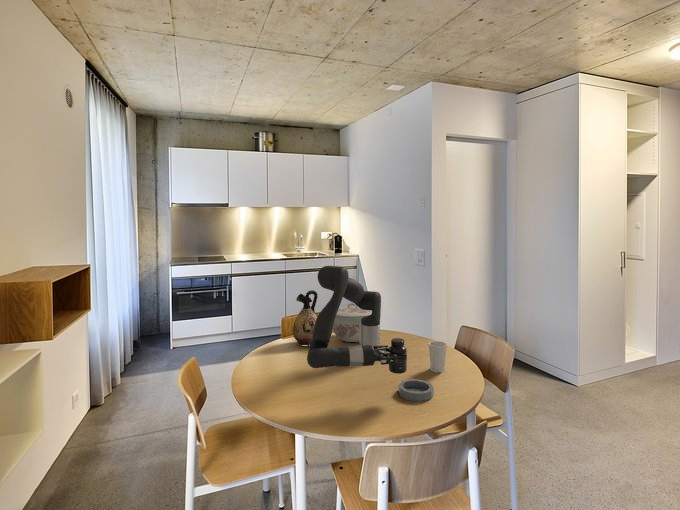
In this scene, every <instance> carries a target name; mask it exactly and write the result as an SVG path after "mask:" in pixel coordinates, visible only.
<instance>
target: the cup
mask: <svg viewBox="0 0 680 510" xmlns="http://www.w3.org/2000/svg"><path fill="white" fill-rule="evenodd" d="M447 347H448V343H446V342H444V341H436V340H432V341H429V342H428V350H429V351H428V352H429V365H430V371H431V372H434V373H438V372H440V373H444V372H445V371H446V368H445V367H446V360H447V359H446V358H447V349H448V348H447Z"/></svg>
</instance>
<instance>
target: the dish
mask: <svg viewBox="0 0 680 510" xmlns="http://www.w3.org/2000/svg"><path fill="white" fill-rule="evenodd" d="M434 390H435V387H434V386H433V384H432V383H431V382H429V381H426V380H423V379H416V378H413V379H411V378H409V379H405V380H402V381H401V382H399V384H398V392H399V393H398V394H399V396H400V397H401V398H403V399H405V400H406V401H407V400H408V401H412V402H426V401H429V400H431V399H433V397H434V394H435V392H434Z"/></svg>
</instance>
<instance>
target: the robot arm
mask: <svg viewBox="0 0 680 510" xmlns="http://www.w3.org/2000/svg"><path fill="white" fill-rule="evenodd" d="M349 276H350V275H349V271H348V269H347V267H345V266H338V265H325V266H322V267H320V269H319V271H318V272H317V282H318V284H319V285H320V287H322V288H323V289H325V290H329V291H332V292H333V293H332V296H331V297H330V299H329V301H328V302H327V303H326V304H325V306H324V307H323V308H322V309H321V310H320V312H319V313H318V315H316V316H317V319H316V322H315V326H314V330H313V336H312V341H311V345H310V346H309V348H308V351H307V356H306V361H307V364H308V366H309V367H311V368H312V369H322V368H331V367H333V368H334V367H336V368H337V367H339V368H342V367H343V368H344V367H345V368H346V367H354V368H356V367H370V366H371V367H372V366H374V365H375V362H380V365H382V366H383V365H389V364H396V363H397V361H399V360H407V361H408V359H407V358H408V354H407V355H406V354H391V352H389V347H390V346H389V345H388V344H386V345H385V344H384V345H381V317H382V316H381V311H382V295H381V293H380V292H379V291H372V290H370V291H369V290H365V289H364V286H363V285H362V283H360V282H359V281H357V280H356V279H354V278H351V277H349ZM343 298H344V299H345V300H347V301H349V302H351V303H352V304H356V305H357V306H358V307H359V308H360V309H363V310H371V311H372V314H371V315H369V316H365V317H363V318H362V319H361V339H360V342H359V345H352V346H345V347H344V346H342V347H341V346H340V347H334V348H333V347H329V343H330V341H331V338H332V334H333V325H334V321H335V318H336V314H337V312H338V309H339V306H341V304H342V301H343ZM390 361H391V362H390Z"/></svg>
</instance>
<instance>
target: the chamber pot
mask: <svg viewBox="0 0 680 510" xmlns="http://www.w3.org/2000/svg"><path fill="white" fill-rule="evenodd" d="M371 314H372V311H371V310H363V309H360V308H359V307H358V306H357V305H356V304H355V303H349V304H346V305H340V306H339V309H338V312H337V314H336V318H335V321H334V325H333V330H332V332H333V333H334V334H335V336H336V337H337V339H339V340H340V341H342V342H344V343H345V342H346V343H351V342H356V343H360V339H361V319H362V318H363V317H365V316H369V315H371Z"/></svg>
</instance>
